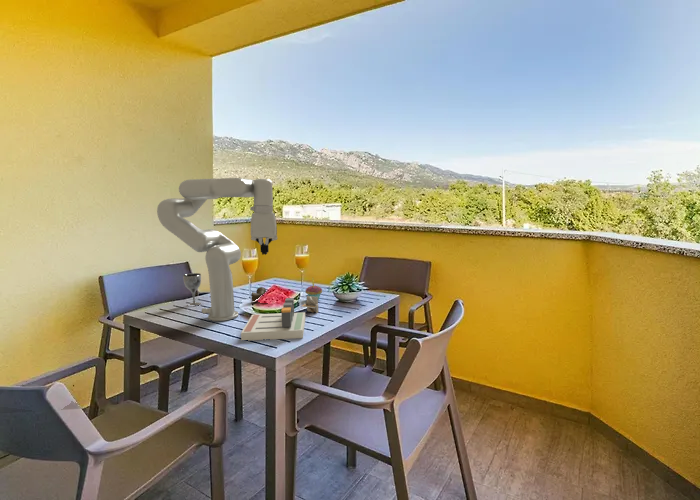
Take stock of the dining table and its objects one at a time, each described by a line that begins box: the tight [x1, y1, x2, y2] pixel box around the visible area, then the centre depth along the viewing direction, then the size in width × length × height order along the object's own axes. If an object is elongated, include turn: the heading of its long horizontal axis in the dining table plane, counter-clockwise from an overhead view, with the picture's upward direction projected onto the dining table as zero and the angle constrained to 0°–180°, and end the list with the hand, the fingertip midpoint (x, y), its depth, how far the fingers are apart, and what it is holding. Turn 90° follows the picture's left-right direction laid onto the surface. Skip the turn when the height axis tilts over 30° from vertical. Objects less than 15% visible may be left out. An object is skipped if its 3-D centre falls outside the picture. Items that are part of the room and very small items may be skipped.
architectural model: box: [300, 295, 319, 314], centre depth 166 cm, size 3×7×7 cm, turn 70°
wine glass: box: [182, 272, 202, 306], centre depth 183 cm, size 8×8×15 cm
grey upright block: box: [280, 307, 292, 327], centre depth 138 cm, size 3×4×7 cm
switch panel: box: [240, 297, 306, 342], centre depth 145 cm, size 22×22×10 cm
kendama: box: [251, 286, 267, 302], centre depth 189 cm, size 6×10×20 cm
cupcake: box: [305, 278, 323, 301], centre depth 188 cm, size 9×8×12 cm
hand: (264, 254), depth 154 cm, fingers closed
